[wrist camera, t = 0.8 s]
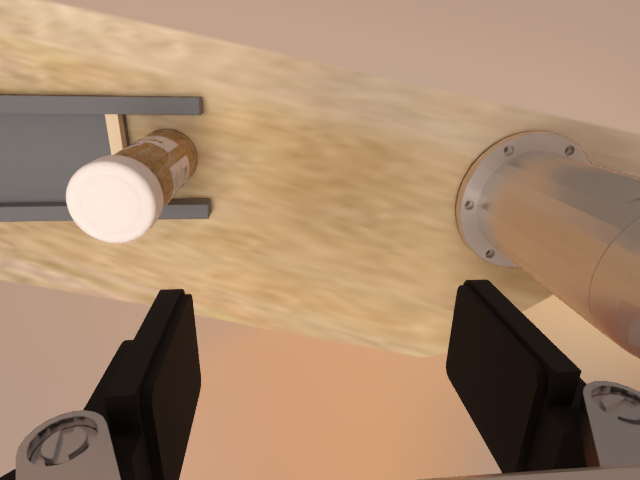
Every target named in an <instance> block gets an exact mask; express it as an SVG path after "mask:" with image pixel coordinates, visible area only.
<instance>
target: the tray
mask: <svg viewBox="0 0 640 480" xmlns="http://www.w3.org/2000/svg"><path fill="white" fill-rule="evenodd" d="M125 114H139V115H201V114H203V100H202V97H170V96H94V95H18V94H0V222H14V221H74V220H73V219H72V217H71V215H70V213H69V211H68V208H67V203H66V189H67V186H68V183H69V181H70V179H71V177H72V176H73V175H74V173H75V172H76V171H77V170H78V169H80V168H81V167H83V166H84V165H86V164H88V163H89V162H92V161H94V160H96V159H98V158H100V157H104V156H109V155H114V154H116V153H117V152H118V151H120V150H122V149H124V148H126V147H128V146H129V139H128V133H127V126H126V119H125ZM210 214H211V200H210V199H171V200H170V202H169V203H168V204H167V205H166V206H165V207H164V208H163V209H162V212H161V214H160V216H159V218H158V219H209V216H210Z"/></svg>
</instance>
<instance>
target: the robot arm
mask: <svg viewBox="0 0 640 480" xmlns="http://www.w3.org/2000/svg"><path fill="white" fill-rule="evenodd" d="M505 147H506V150H505V151H504V149H505ZM466 202H467V204H465V203H466ZM456 220H457V224H458V229H459V232H460V234H461V236H462V238H463V240H464V242H465V243H466V244H467V246H468V247H469V248H470V249H471V250H472V251H473V252H474V253H475V254H476V255H477V256H479V257H480V258H482V259H483V260H484V261H486V262H489V263H491V264H494V265H497V266H502V267H508V268H513V267H520V268H521V269H522V270H524V271H525V272H526V273H528V274H529V275H530V276H531V277H533V278H534V279H535V280H536V281H538V282H539V283H540V284H541V285H543V286H544V287H545V288H546V289H548V290H549V291H550V292H551V293H553V294H554V295H555V296H556V297H558V298H559V299H560V300H562V301H563V302H564V303H565V304H567V305H568V306H569V307H570V308H572V309H573V310H574V311H575V312H577V313H578V314H579V315H580V316H582V317H583V318H584V319H585V320H587V321H588V322H589V323H591V324H592V325H593V326H594V327H595V328H597V329H598V330H599V331H601V332H602V333H603V334H605V335H606V336H607V337H609V338H610V339H611V340H612V341H614V342H615V343H616V344H618V345H619V346H620V347H621V348H623V349H625V350H626V351H627V352H629V353H630V354H632V355H634V356H636V357H638V358H640V178H638V177H635V176H631V175H628V174H624V173H621V172H617V171H614V170H611V169H607V168H604V167H600V166H597V165H593V164H591V162H590V160H589V158H588V156H587V155H586V153H585V152H584V151H583V150H582V149H581V147H580V146H579V145H578V144H576V143H575V142H573V141H572V140H570V139H569V138H567V137H564V136H561V135H558V134H555V133H550V132H545V131H529V132H524V133H519V134H515V135H513V136H510V137H508V138H505V139H503V140H501V141H500V142H498V143H497V144H495V145H493V146H492V147H490V148H489V149H488V150H487V151H486V152H485V153H483V154H482V155H481V156H480V157H479V158H478V159H477V161H476V162H475V163H474V164H473V165H472V167H471V168H470V170H469V171H468V173H467V175H466V176H465V178H464V180H463V182H462V185H461V188H460V190H459V193H458V198H457V204H456ZM196 337H197V336H196V327H195V318H194V308H193V300H192V295H191V294H185V292H184V290H183V289H171V290H160V291H159V293H158V295H157V297H156V299H155V301H154V303H153V304H152V306H151V308H150V310H149V312H148V314H147V316H146V318H145V319H144V322H143V323H142V325H141V327H140V329H139V331H138V333H137V334H136V336H135V338H134V340H126V341H124V342H123V343H122V344H121V345H120V347H119V349H118V350H117V352H116V354H115V356H114V357H113V359H112V361H111V363H110V365H109V366H108V368H107V370H106V371H105V373H104V375H103V377H102V379H101V380H100V382H99V384H98V385H97V387H96V389H95V391H94V393H93V394H92V396H91V398H90V399H89V401H88V403H87V405H86V407H85V408H84V410H83V411H72V412H68V413H65V414H61V415H58V416H56V417H54V418H52V419H49V420H47V421H46V422H44V423H42V424H41V425H39V426H38V427H36V428H35V429H34V430H33V431H32V432H31V433H30V434H29V435H27V436H26V437H25V438H24V440H23V442H22V443H21V445H20V446H19V447H18V451H17V455H16V469H15V470H12V471H11V472H9V473H7V474H6V475H4V476H2V477H0V480H179V477H180V473H181V469H182V465H183V460H184V456H185V452H186V447H187V443H188V439H189V435H190V431H191V427H192V423H193V419H194V414H195V410H196V406H197V401H198V398H199V393H200V388H201V373H200V365H199V355H198V346H197V338H196ZM446 370H447V375H448V377H449V379H450V381H451V383H452V385H453V387H454V388H455V390H456V392H457V393H458V395H459V397H460V399H461V401H462V402H463V404H464V406H465V407H466V409H467V411H468V413H469V415H470V416H471V418H472V420H473V422H474V424H475V425H476V427H477V428H478V431H479V432H480V434H481V436H482V438H483V439H484V441H485V443H486V445H487V447H488V448H489V450H490V452H491V453H492V455H493V457H494V459H495V460H496V462H497V464H498V466H499V468H500V469H501V471H502V473H500V474H485V475H472V476H458V477H445V478H432V479H419V480H640V392H638V391H636V390H634V389H632V388H630V387H628V386H624V385H621V384H618V383H614V382H607V381H594V382H591V383H589V384H586V383H585V382H584V381H583V380H582V379H581V378H580V374H581V370H580V369H579V368H578V367H577V366H576V365H575V364H574V363H573V362H572V361H571V360H570V359H569V358H567V356H566V355H565V354H563V353H562V352H561V351H560V350H559V349H558V348H557V347H556V346H555V345H554V344H553V343H552V342H551V341H550V340H549V339H548V338H547V337H546V336H545V335H544V334H543V333H542V332H541V331H540V330H539V329H538V328H537V327H536V326H535V325H534V324H533V323H532V322H531V321H530V320H529V319H527V318H526V316H524V314H522V313H521V312H520V311H519V310H518V309H517V308H516V307H515V306H514V305H513V304H512V303H511V302H510V301H509V300H508V299H507V298H506V297H505V296H504V295H503V294H502V293H501V292H500V291H499V290H498V289H497V288H496V287H495V286H494V285H493V284H492V283H491V282H490V281H488V280H466V281H465V282H464V284H463V285H460V286H459V287H458V290H457V296H456V302H455V309H454V315H453V322H452V328H451V335H450V342H449V348H448V355H447V361H446Z"/></svg>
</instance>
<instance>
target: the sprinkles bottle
mask: <svg viewBox="0 0 640 480" xmlns="http://www.w3.org/2000/svg"><path fill="white" fill-rule="evenodd" d="M196 164H197V156H196V151H195V149H194V146H193V145H192V143H191V141H190V140H189V139H188V138H187V137H185V136H184V135H183V134H180V133H179V132H176V131H174V130H169V129H162V130H157V131H154V132H152V133H150V134H149V135H147V136H146V137H145V138H142V139H140V140H138V141H136V142H135V143H133V144H131V145H129V146H128V147H126V148H124V149H122V150H120V151H118V152H117V153H116V154H114V155H109V156H104V157H100V158H98V159H96V160H94V161H92V162H89V163H88V164H86V165H84V166H83V167H81V168H80V169H78V170H77V171H76V172H75V173H74V175H73V176H72V177H71V179H70V181H69V183H68V186H67V189H66V203H67V208H68V211H69V213H70V215H71V217H72V219H73V220H74V222H75V223H76V224H77V225H78V226H79V227H80V228H81V229H82V230H83V231H84V232H86V233H87V234H88V235H90V236H92V237H94V238H96V239H98V240H101V241H104V242H109V243H125V242H130V241H133V240H135V239H137V238H139V237H141V236H142V235H143V234H145V233H146V232H147V231H148V230H149V229H150V228H151V227H152V226H153V224H154V223H155V222H156V221H157V219H158V218H159V216H160V214H161V212H162V209H163V208H164V207H165V206H166V205H167V204H168V203H169V202H170V200H171V199H172V198H173V197H174V195H175V194H176V193H177V192H178V190H179V189H180V188H181V187H182V186H183V184H184V183H185V181H186V180H187V179H188V178H189V177H190V176H191V175H192V174H193V172H194V171H195V168H196Z"/></svg>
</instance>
